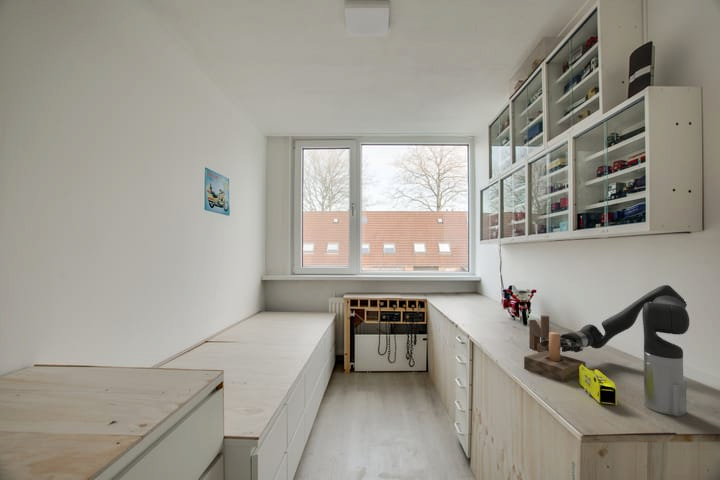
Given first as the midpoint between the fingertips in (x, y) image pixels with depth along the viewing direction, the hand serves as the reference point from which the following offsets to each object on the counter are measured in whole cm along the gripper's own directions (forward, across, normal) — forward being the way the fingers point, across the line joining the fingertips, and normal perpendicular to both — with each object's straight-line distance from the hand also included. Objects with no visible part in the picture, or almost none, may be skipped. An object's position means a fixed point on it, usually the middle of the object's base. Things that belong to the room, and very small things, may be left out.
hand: (552, 346), depth 135 cm
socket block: (-1, 0, -10) cm, 10 cm away
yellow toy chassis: (+8, -20, -11) cm, 24 cm away
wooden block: (-22, +19, -11) cm, 31 cm away
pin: (-1, 0, -9) cm, 9 cm away
